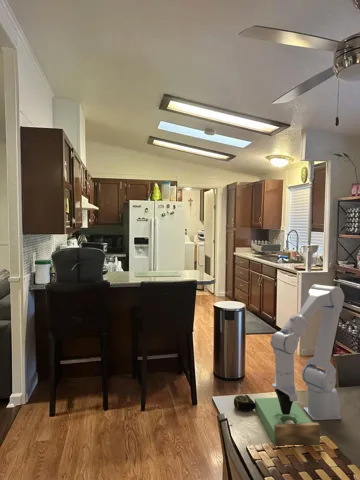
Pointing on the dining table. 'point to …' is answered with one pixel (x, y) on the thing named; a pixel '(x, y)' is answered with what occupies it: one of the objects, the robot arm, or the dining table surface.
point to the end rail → (297, 433)
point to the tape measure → (244, 403)
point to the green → (278, 415)
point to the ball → (289, 422)
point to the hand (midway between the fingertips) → (285, 413)
